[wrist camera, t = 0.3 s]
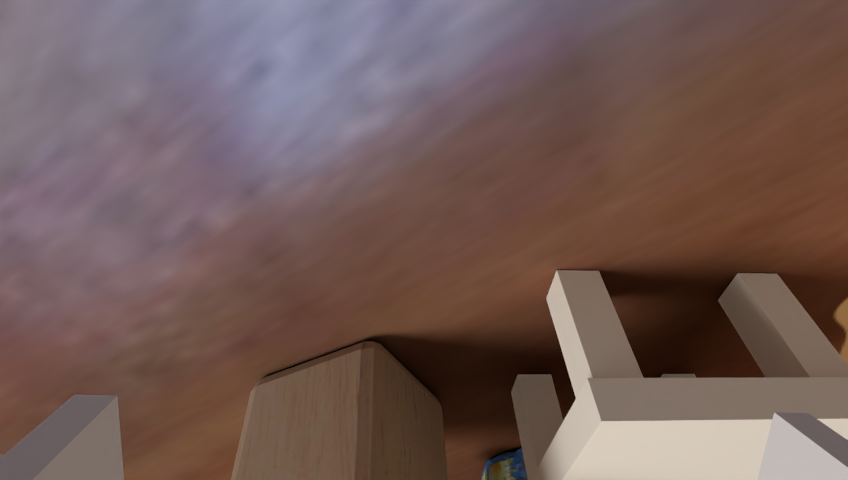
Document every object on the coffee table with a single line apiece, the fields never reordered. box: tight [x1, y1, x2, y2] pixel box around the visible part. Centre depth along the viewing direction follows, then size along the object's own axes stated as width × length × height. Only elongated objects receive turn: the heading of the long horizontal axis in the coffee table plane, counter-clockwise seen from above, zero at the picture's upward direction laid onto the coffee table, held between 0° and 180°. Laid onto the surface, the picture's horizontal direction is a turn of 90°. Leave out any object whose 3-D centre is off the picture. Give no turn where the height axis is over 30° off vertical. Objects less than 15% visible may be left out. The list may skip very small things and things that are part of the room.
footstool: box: [511, 270, 848, 480], centre depth 29 cm, size 14×14×9 cm
